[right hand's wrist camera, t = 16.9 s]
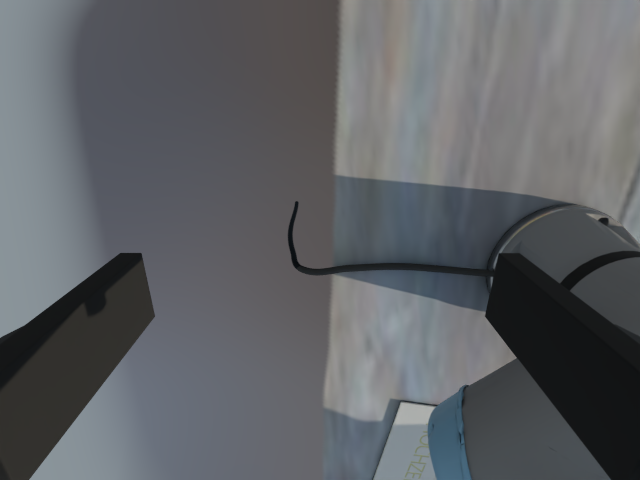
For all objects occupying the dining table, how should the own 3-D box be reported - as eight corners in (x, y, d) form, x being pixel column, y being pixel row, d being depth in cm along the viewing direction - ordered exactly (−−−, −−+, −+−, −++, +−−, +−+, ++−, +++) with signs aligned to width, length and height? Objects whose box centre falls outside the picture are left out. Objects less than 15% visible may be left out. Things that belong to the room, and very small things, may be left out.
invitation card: (401, 403, 48) (502, 416, 49) (400, 401, 48) (501, 415, 49) (367, 498, 56) (454, 508, 57) (366, 496, 56) (454, 506, 57)
